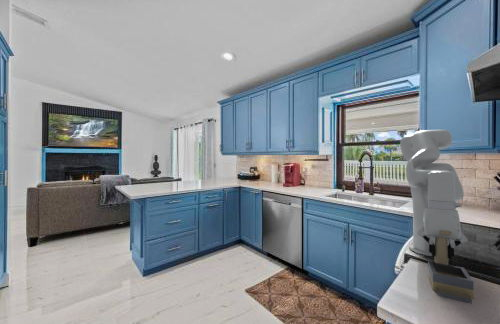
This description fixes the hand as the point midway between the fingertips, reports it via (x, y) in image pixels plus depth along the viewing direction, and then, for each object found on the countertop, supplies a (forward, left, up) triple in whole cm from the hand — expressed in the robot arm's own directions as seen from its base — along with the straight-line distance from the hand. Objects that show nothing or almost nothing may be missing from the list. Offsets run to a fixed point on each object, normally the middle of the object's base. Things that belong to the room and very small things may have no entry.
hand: (441, 255), depth 81 cm
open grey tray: (+12, 0, -5) cm, 13 cm away
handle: (0, 0, -5) cm, 5 cm away
